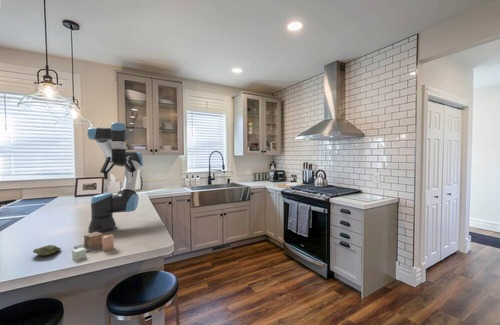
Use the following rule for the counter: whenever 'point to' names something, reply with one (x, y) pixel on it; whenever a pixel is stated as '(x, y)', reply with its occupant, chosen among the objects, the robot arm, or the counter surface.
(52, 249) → the seashell
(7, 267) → the counter surface
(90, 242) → the walnut cube
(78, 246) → the coaster
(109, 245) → the pink glossy pebble
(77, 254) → the sage block
